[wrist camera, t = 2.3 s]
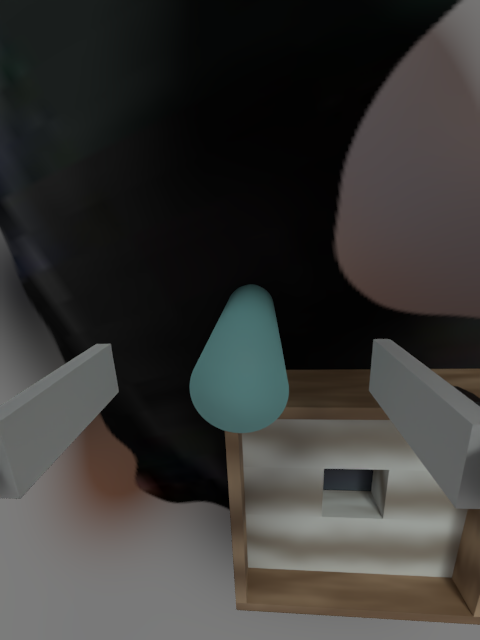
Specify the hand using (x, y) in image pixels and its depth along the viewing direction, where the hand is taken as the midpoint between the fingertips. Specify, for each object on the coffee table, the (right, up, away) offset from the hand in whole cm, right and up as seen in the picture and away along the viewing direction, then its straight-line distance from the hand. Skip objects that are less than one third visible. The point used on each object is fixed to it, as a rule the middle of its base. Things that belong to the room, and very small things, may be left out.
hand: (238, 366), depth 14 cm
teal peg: (+1, +3, +11) cm, 11 cm away
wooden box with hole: (+11, -13, +15) cm, 22 cm away
